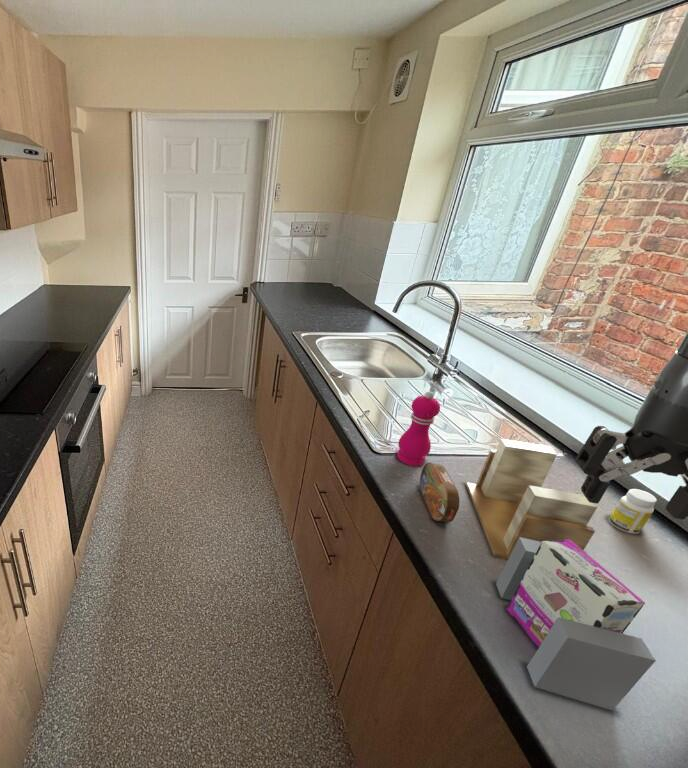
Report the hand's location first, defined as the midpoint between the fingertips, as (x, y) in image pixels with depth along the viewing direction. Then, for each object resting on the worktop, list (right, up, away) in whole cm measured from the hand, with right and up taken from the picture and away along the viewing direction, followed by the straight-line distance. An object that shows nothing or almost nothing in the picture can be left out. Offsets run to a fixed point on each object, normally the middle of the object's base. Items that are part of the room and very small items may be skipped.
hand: (630, 506), depth 54 cm
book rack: (+13, -14, +34) cm, 39 cm away
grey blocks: (0, -25, +13) cm, 28 cm away
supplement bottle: (+35, -14, +34) cm, 51 cm away
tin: (-1, -12, +40) cm, 41 cm away
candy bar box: (0, -25, +13) cm, 28 cm away
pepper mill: (+2, -4, +55) cm, 55 cm away
